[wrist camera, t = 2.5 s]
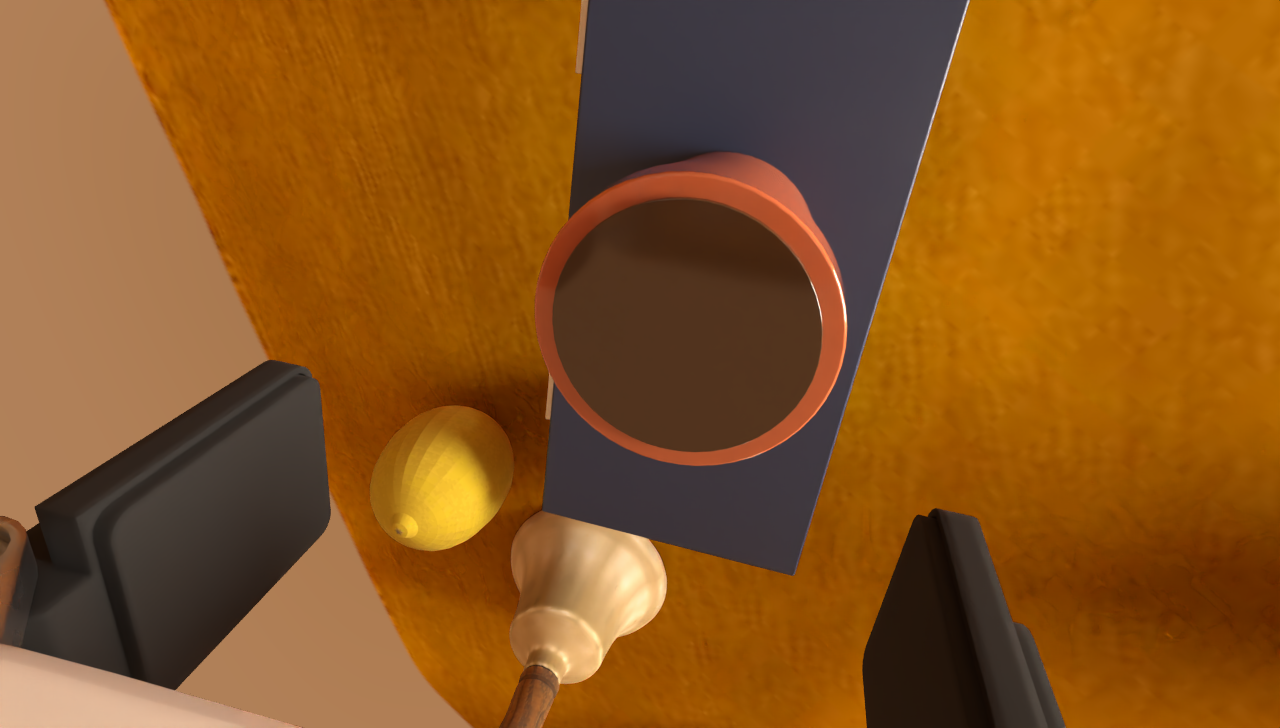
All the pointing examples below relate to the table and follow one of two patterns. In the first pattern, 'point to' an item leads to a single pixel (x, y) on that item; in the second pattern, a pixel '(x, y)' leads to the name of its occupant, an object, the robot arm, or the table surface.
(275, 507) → the robot arm
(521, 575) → the hand bell
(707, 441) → the pot
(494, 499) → the lemon
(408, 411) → the table surface
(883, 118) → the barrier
